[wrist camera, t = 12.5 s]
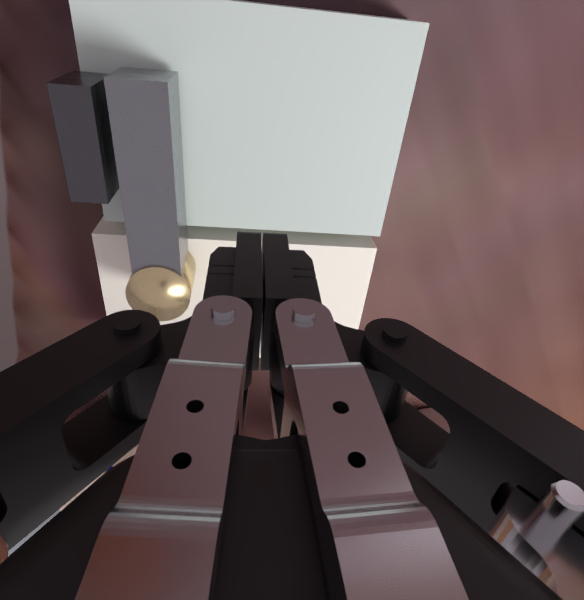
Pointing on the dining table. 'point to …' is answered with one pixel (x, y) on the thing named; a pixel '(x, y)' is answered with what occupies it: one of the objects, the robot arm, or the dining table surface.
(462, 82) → the dining table surface
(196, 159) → the door leaf
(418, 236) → the dining table surface
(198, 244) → the jamb block
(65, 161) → the block
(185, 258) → the bar
